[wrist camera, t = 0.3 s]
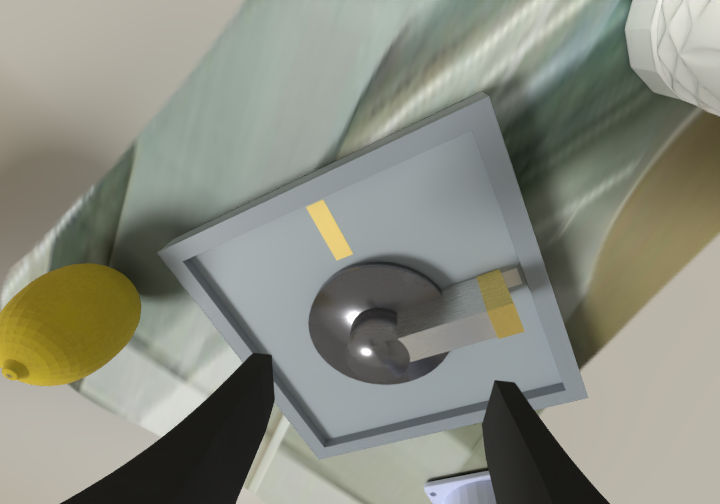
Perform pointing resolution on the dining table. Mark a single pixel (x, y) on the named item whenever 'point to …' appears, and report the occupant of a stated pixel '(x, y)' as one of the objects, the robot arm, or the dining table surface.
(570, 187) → the dining table surface
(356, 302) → the dial
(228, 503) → the robot arm
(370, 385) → the dial plate
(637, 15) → the white cup
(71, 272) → the lemon
